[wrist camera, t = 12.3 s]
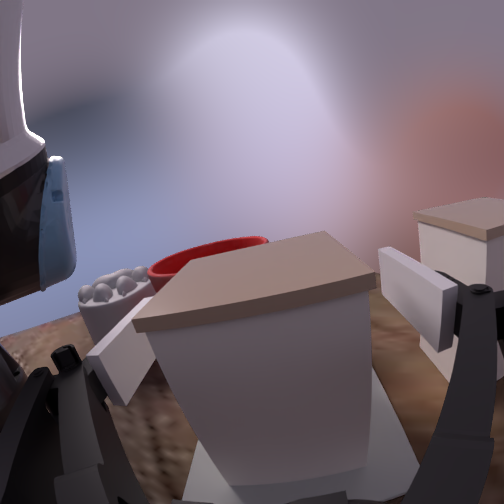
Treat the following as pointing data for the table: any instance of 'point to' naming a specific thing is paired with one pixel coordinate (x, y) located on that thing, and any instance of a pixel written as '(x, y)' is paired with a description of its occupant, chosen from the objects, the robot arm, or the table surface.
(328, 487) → the felt mat
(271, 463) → the cover canister
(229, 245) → the flower pot
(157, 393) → the table surface
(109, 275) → the lumpy-topped squat cylinder
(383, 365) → the table surface
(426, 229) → the empty canister
